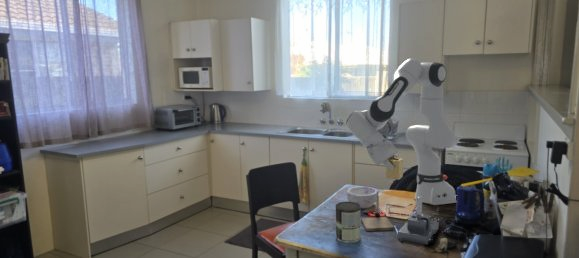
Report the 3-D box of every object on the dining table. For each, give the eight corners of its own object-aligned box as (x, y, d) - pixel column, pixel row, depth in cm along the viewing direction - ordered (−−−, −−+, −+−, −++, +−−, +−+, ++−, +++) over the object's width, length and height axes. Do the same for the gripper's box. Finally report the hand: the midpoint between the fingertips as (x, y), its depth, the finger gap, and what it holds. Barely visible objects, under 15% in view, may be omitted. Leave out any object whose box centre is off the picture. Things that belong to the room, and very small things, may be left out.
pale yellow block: (390, 175, 179) (390, 157, 178) (402, 176, 176) (403, 158, 175) (386, 178, 175) (386, 159, 174) (398, 179, 172) (399, 161, 171)
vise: (410, 223, 184) (411, 189, 182) (438, 228, 178) (439, 193, 175) (397, 238, 169) (398, 201, 167) (427, 244, 163) (428, 206, 160)
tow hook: (367, 212, 201) (368, 218, 192) (367, 186, 200) (368, 191, 191) (385, 212, 200) (386, 219, 191) (385, 186, 198) (386, 192, 189)
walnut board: (386, 219, 190) (386, 217, 190) (394, 229, 178) (394, 227, 178) (360, 220, 190) (360, 218, 189) (366, 231, 178) (366, 228, 178)
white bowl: (341, 205, 210) (341, 190, 209) (359, 198, 220) (359, 184, 219) (365, 213, 199) (365, 197, 198) (383, 205, 209) (383, 190, 208)
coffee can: (331, 239, 171) (330, 206, 169) (344, 230, 179) (343, 199, 176) (352, 245, 164) (352, 211, 162) (365, 236, 172) (365, 204, 170)
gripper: (370, 142, 168) (393, 168, 164) (387, 134, 185) (408, 157, 181) (360, 151, 171) (382, 177, 167) (377, 143, 188) (398, 166, 185)
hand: (396, 167), depth 175 cm, fingers closed on pale yellow block, 5 cm apart
